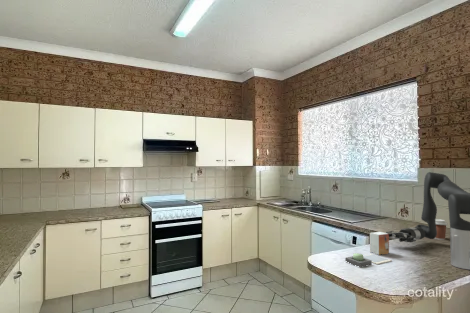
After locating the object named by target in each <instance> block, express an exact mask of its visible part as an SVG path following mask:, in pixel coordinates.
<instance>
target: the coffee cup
mask: <svg viewBox="0 0 470 313" xmlns="http://www.w3.org/2000/svg"><path fill="white" fill-rule="evenodd" d="M435 221H436V229H437V236H436V237H435V238H434V239H435V240H439V241H445V240H446V232H447V226H448V222H446V220H445V219H440V218H436V220H435ZM434 239H433V240H434Z"/></svg>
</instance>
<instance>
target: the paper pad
mask: <svg viewBox="0 0 470 313" xmlns="http://www.w3.org/2000/svg"><path fill="white" fill-rule="evenodd" d="M369 254H370V255H367V254H366V255H367V256H363V258H366V259H369V260H372V264H374V265H377V266H378V265H382V264H385V263H386V264H387V263H389V262H392V261H393V260H392V259H391V258H390V259H389V258H387V257H383V256H381V255H377V254H374V253H369Z"/></svg>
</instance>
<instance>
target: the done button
mask: <svg viewBox="0 0 470 313" xmlns="http://www.w3.org/2000/svg"><path fill="white" fill-rule="evenodd" d="M363 255H364V254H362V253H357V252H355V253H353V254H352V256H353V259H354V260H357V261H363Z"/></svg>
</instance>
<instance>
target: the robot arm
mask: <svg viewBox="0 0 470 313" xmlns="http://www.w3.org/2000/svg"><path fill="white" fill-rule="evenodd" d="M432 188H433V189H436V190H437V193H438V194H439V196H441V198H442V199H444V200H446V201H447V203H448V220H449V240H450V242H449V244H450V246H449V248H450V265H452V266H453V267H455V268H459V269H463V270H469V271H470V221H468V220H465V219H464V218H462V217H461V215H470V192H468V191H466V190H465V189H463V188H461V187H460V186H459V185H458V184H457V183H455V182H453V181H452V180H451V179H450V177H449V176H447V175H446V174H444V173H437V172H430V171H429V172H427V173H426V174H425V176H424V181H423V206H422V211H421V220H422V222H425V223H427V225H425V224H417V225H416V226H412V227H406V228H402V229H401V228H400V229H399V231H394V230H391V231H385V233H388V234H389V239H390V238H392V239H395V240H396V239H397V240H399V242H400V243H403V242H404V243H413V242H416V241H418V240H422V239H424V238H426V239H429V240H434V238H435V237H436V236H437V229H436V221H435V220H436V219H437V214H438V213H437V212H438V209H437V205H436V203H435V201H434V199H433V197H432V192H431V189H432Z"/></svg>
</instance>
